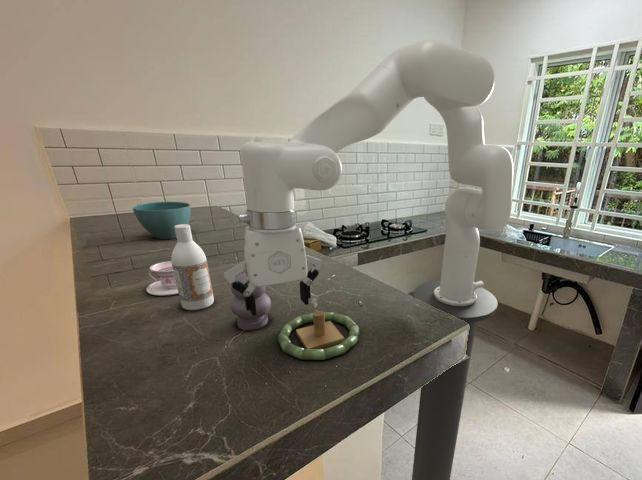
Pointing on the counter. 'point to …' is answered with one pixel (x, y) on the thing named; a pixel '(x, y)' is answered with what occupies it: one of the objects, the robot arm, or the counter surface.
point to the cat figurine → (244, 316)
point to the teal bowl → (162, 217)
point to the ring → (318, 353)
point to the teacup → (163, 280)
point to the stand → (319, 333)
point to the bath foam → (191, 271)
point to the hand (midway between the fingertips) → (279, 307)
